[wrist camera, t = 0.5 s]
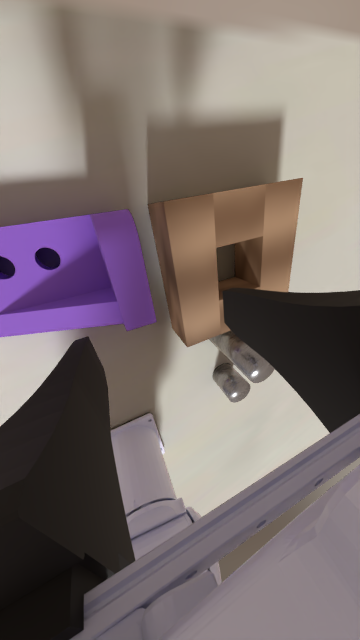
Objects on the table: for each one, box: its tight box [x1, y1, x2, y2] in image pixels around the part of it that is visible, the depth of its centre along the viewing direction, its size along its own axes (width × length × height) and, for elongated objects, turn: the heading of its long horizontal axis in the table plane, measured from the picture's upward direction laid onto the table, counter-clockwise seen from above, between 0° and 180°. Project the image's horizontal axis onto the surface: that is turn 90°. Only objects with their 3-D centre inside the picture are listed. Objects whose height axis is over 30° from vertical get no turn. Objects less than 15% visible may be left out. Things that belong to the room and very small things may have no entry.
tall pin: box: [210, 331, 274, 383], centre depth 23 cm, size 3×3×8 cm
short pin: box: [213, 363, 250, 402], centre depth 28 cm, size 3×3×4 cm
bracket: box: [0, 209, 157, 337], centre depth 13 cm, size 12×7×7 cm, turn 95°
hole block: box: [148, 178, 303, 347], centre depth 19 cm, size 12×12×4 cm
